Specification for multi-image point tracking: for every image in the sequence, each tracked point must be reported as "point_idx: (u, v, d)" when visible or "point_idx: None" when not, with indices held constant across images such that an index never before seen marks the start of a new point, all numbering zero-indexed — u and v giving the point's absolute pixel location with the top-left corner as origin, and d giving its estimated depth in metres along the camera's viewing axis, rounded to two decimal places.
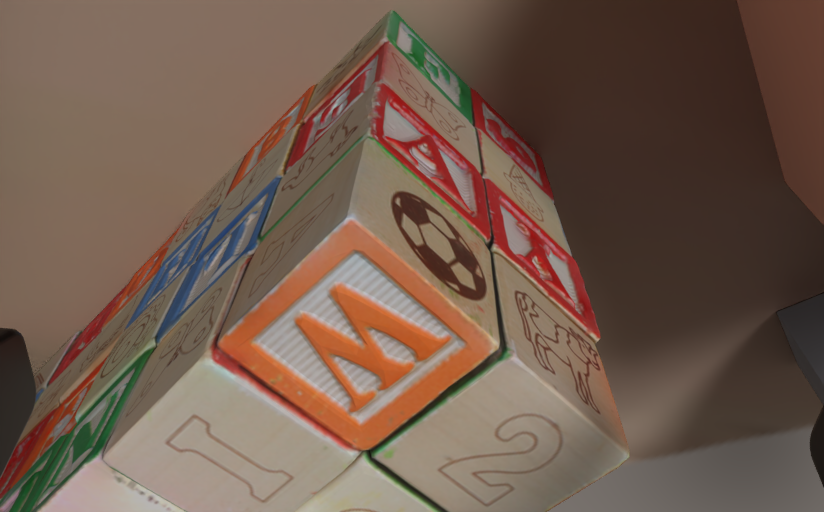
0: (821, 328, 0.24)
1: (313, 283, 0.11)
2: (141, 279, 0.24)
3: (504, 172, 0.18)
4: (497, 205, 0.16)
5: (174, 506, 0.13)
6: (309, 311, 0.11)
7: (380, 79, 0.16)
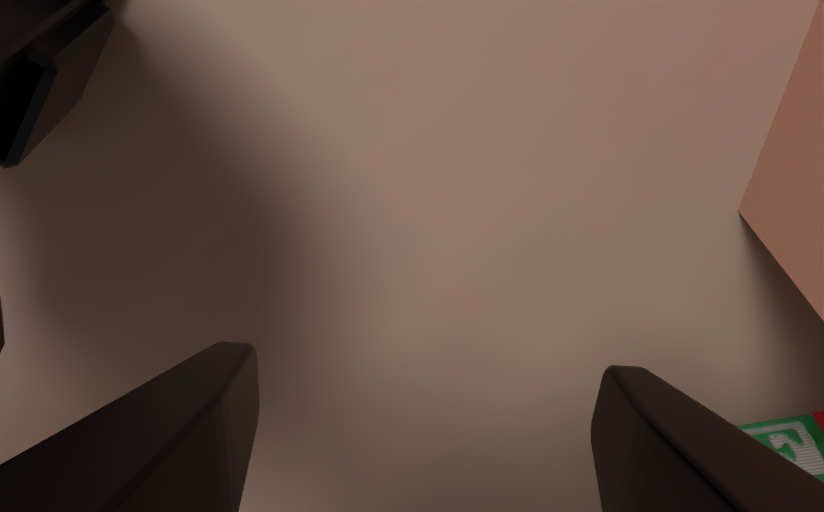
0: None
1: None
2: None
3: None
4: None
5: None
6: None
7: None
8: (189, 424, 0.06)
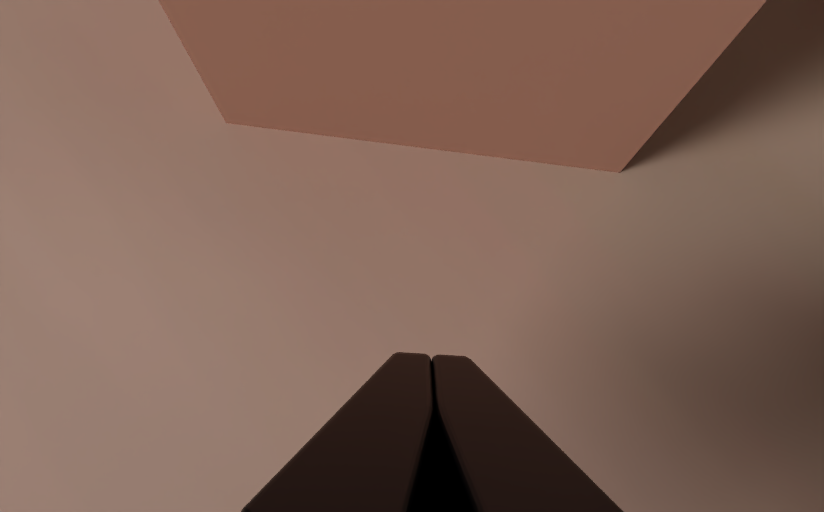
0: None
1: None
2: None
3: None
4: None
5: None
6: None
7: None
8: (422, 437, 0.06)
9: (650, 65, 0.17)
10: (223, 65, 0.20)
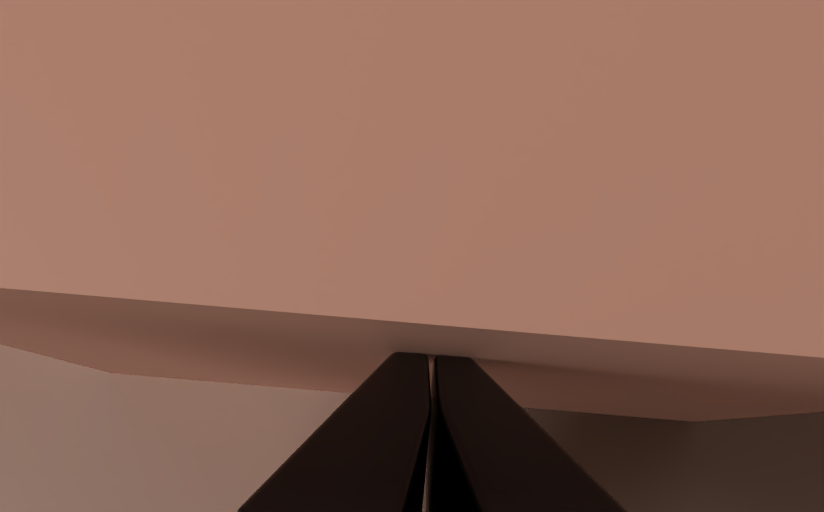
0: None
1: None
2: None
3: None
4: None
5: None
6: None
7: None
8: (419, 438, 0.06)
9: (808, 396, 0.09)
10: (69, 353, 0.12)
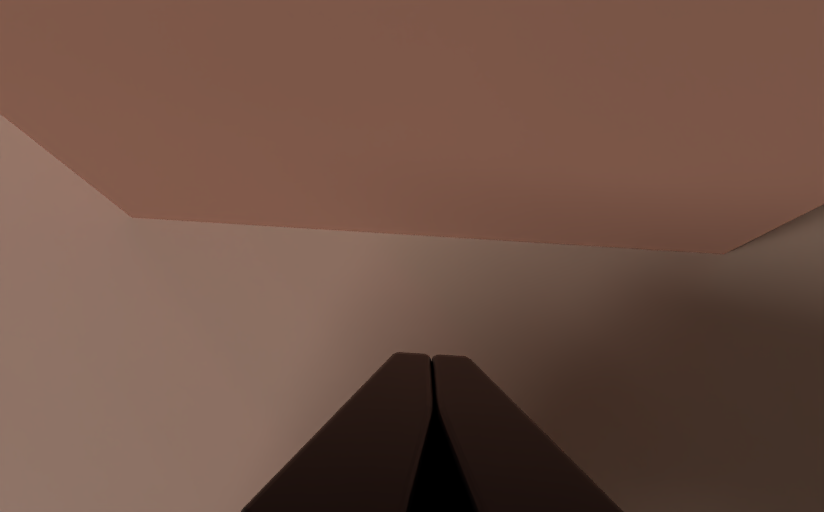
0: None
1: None
2: None
3: None
4: None
5: None
6: None
7: None
8: (421, 437, 0.06)
9: None
10: (98, 152, 0.12)
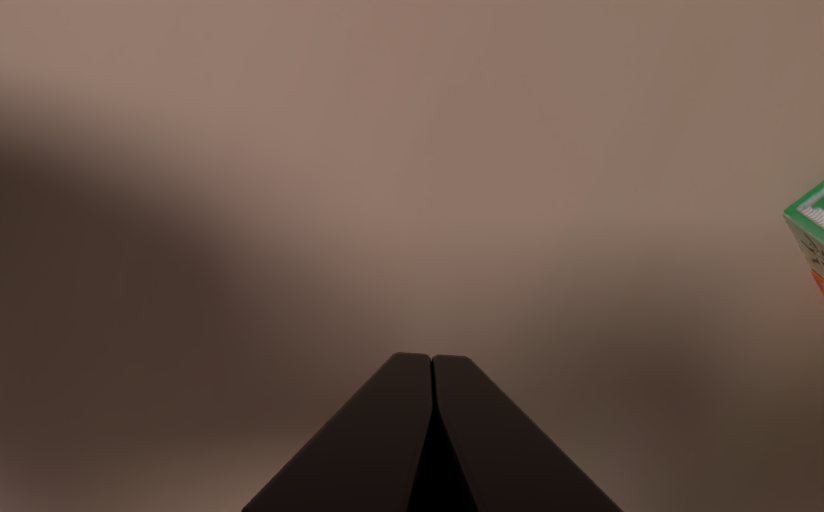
0: None
1: None
2: None
3: None
4: None
5: None
6: None
7: None
8: (422, 438, 0.06)
9: None
10: None
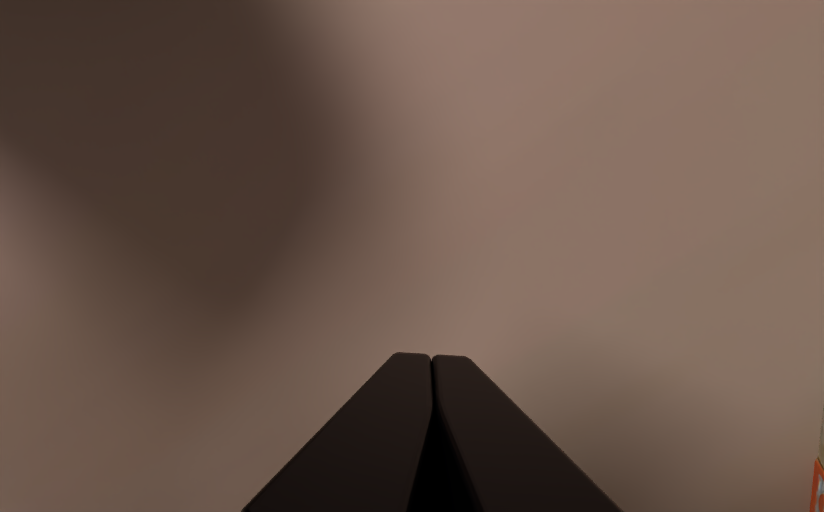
0: None
1: None
2: None
3: None
4: None
5: None
6: None
7: None
8: (421, 437, 0.06)
9: None
10: None
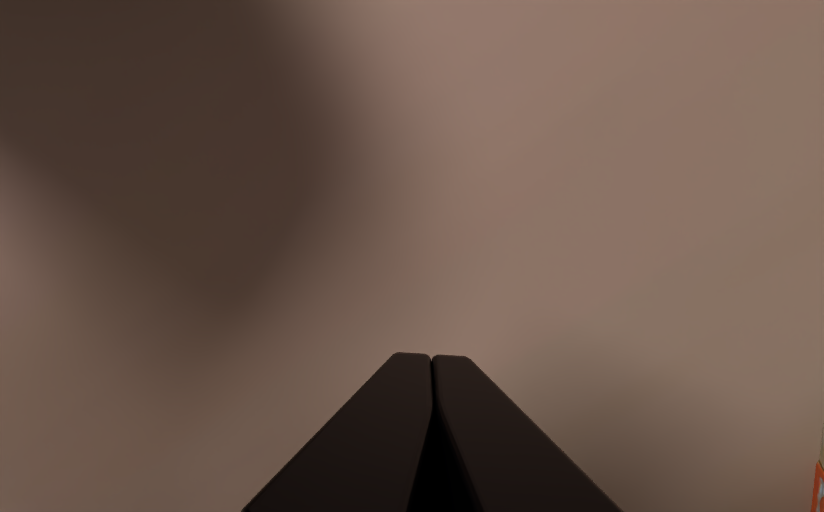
0: None
1: None
2: None
3: None
4: None
5: None
6: None
7: None
8: (421, 438, 0.06)
9: None
10: None
